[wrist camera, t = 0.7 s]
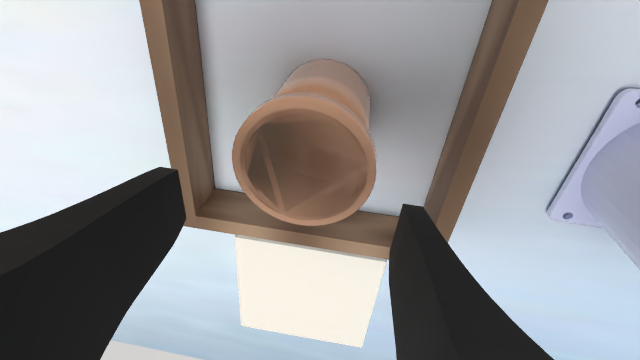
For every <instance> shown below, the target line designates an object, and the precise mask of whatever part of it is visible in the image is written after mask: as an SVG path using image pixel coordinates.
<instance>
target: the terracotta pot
mask: <svg viewBox="0 0 640 360" xmlns="http://www.w3.org/2000/svg"><path fill="white" fill-rule="evenodd" d="M369 127H370V97H369V92H368V89H367V87H366V85H365V83H364V81H363V79H362V78H361V77H360V76H359V74H358V73H357V72H356V71H354V70H353V69H352V68H351V67H349V66H348V65H346V64H344V63H342V62H339V61H335V60H330V59H317V60H313V61H309V62H307V63H305V64H303V65H301V66H299V67H298V68H297V69H295V70H294V71H293V72H292V73H291V75H290V76H289V77H288V79H287V80H286V81H285V83H284V84H283V85H282V87H281V88H280V89H279V91H278V92H277V93H276V95H275V96H274V97H273V98H272V99H270V100H268V101H266V102H264V103H263V104H261V105H260V106H259V107H257V108H256V109H255V110H254V111H253V112H252V113H251V115H250V116H249V117H248V118H247V120H246V121H245V122H244V123H243V125H242V126H241V127H240V129H239V131H238V133H237V135H236V137H235V140H234V144H233V150H232V162H233V168H234V172H235V175H236V178H237V180H238V182H239V184H240V186H241V188H242V189H243V191H244V192H245V194H246V195H247V196H248V197H249V198H250V199H251V200H252V202H253V203H255V204H256V205H257V206H258V207H259V208H260V209H262V210H263V211H265V212H266V213H268V214H270V215H272V216H273V217H275V218H278V219H280V220H282V221H286V222H289V223H293V224H297V225H305V226H318V225H326V224H331V223H334V222H337V221H340V220H342V219H344V218H347V217H348V216H350V215H351V214H353V213H354V212H355V211H357V210H358V209H359V208H360V207H361V206H362V205H363V204H364V203H365V201H366V200H367V198H368V197H369V195H370V193H371V191H372V189H373V186H374V182H375V177H376V152H375V146H374V143H373V140H372V137H371V135H370V133H369Z"/></svg>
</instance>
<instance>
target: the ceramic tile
mask: <svg viewBox="0 0 640 360" xmlns="http://www.w3.org/2000/svg"><path fill="white" fill-rule="evenodd" d="M235 248H236V261H237V275H238V288H239V302H240V315H241V326H246V327H251V328H257V329H262V330H267V331H273V332H278V333H284V334H289V335H295V336H300V337H306V338H311V339H317V340H322V341H328V342H333V343H339V344H344V345H350V346H355V347H361V348H362V346H363V342H364V339H365V335H366V332H367V328H368V325H369V321H370V318H371V314H372V311H373V307H374V304H375V300H376V297H377V294H378V290H379V287H380V283H381V280H382V276H383V273H384V269H385V266H386V262H387V261H386V259H382V258H376V257H370V256H364V255H358V254H351V253H345V252H339V251H333V250H327V249H321V248H315V247H309V246H303V245H297V244H291V243H284V242H278V241H272V240H266V239H260V238H254V237H248V236H242V235H235Z"/></svg>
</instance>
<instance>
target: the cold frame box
mask: <svg viewBox="0 0 640 360" xmlns="http://www.w3.org/2000/svg"><path fill="white" fill-rule="evenodd" d="M139 1H140V6H141V11H142V17H143V22H144V27H145V32H146V38H147V43H148V48H149V53H150V59H151V64H152V69H153V75H154V80H155V85H156V90H157V96H158V101H159V106H160V112H161V117H162V122H163V127H164V133H165V138H166V143H167V149H168V154H169V159H170V164H171V169H177V170H178V173H179V178H180V184H181V189H182V195H183V201H184V206H185V212H186V218H187V219H186V221H185V223H184V225H183V226H187V227H193V228H199V229H205V230H211V231H217V232H224V233H230V234H236V235H242V236H248V237H254V238H260V239H266V240H272V241H278V242H284V243H291V244H297V245H303V246H309V247H315V248H321V249H327V250H333V251H339V252H345V253H351V254H358V255H364V256H370V257H376V258H382V259H388V260H389V251H390V248H391V244H392V241H393V237H394V234H395V230H396V227H397V223H398V220H399V217H395V216H388V215H382V214H376V213H369V212H363V211H355V212H354V213H353V214H351V215H350V216H348V217H347V218H344V219H342V220H340V221H337V222H334V223H331V224H326V225H318V226H305V225H297V224H293V223H289V222H286V221H282V220H280V219H278V218H275V217H273V216H272V215H270V214H268V213H266V212H265V211H263V210H262V209H260V208H259V207H258V206H257V205H256V204H255V203H253V202H252V200H251V199H250V198H249V197H248V196H247V195H246V194H245V193H241V192H234V191H228V190H221V189H215V185H214V176H213V167H212V158H211V148H210V139H209V130H208V120H207V111H206V102H205V93H204V83H203V74H202V65H201V56H200V46H199V37H198V28H197V18H196V9H195V0H139ZM547 3H548V0H493V1H492V4H491V7H490V10H489V13H488V16H487V19H486V22H485V25H484V28H483V31H482V34H481V37H480V40H479V43H478V46H477V49H476V52H475V55H474V58H473V61H472V64H471V67H470V70H469V73H468V76H467V79H466V82H465V85H464V88H463V91H462V94H461V97H460V100H459V103H458V106H457V109H456V112H455V115H454V118H453V121H452V124H451V127H450V130H449V133H448V136H447V139H446V142H445V145H444V148H443V151H442V154H441V157H440V160H439V163H438V166H437V169H436V172H435V175H434V178H433V181H432V184H431V187H430V190H429V193H428V196H427V199H426V202H425V205H424V209H425V210H426V212H427V213H428V215H429V216H430V218H431V219H432V221H433V222H434V224H435V225H436V227H437V228H438V230H439V231H440V233H441V234H442V236H443V237H444V239H445V240H446V242H447V243H448V241H449V238H450V236H451V234H452V231H453V229H454V226H455V224H456V222H457V219H458V217H459V214H460V212H461V210H462V207H463V205H464V202H465V200H466V198H467V195H468V193H469V190H470V188H471V186H472V183H473V181H474V178H475V176H476V174H477V171H478V169H479V166H480V164H481V162H482V159H483V157H484V154H485V152H486V149H487V147H488V145H489V142H490V140H491V137H492V135H493V133H494V130H495V128H496V125H497V123H498V121H499V118H500V116H501V113H502V111H503V109H504V106H505V104H506V101H507V99H508V97H509V94H510V92H511V89H512V87H513V85H514V82H515V80H516V77H517V75H518V73H519V70H520V68H521V65H522V63H523V61H524V58H525V56H526V53H527V51H528V49H529V46H530V44H531V41H532V39H533V37H534V34H535V32H536V29H537V27H538V25H539V22H540V20H541V17H542V15H543V12H544V10H545V8H546V5H547Z"/></svg>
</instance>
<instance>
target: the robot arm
mask: <svg viewBox="0 0 640 360" xmlns="http://www.w3.org/2000/svg"><path fill="white" fill-rule="evenodd" d="M638 99H640V89H634V88H629V89H625V90H623V91H621V92H620V93H618V95H617V96H616V97H615V99H614V100H613V102H612V104H611V105H610V107H609V109H608V110H607V112H606V114H605V115H604V117H603V119H602V120H601V122H600V124H599V125H598V127H597V129H596V130H595V132H594V134H593V135H592V137H591V139H590V140H589V142H588V144H587V145H586V147H585V149H584V150H583V152H582V154H581V155H580V157H579V159H578V160H577V162H576V164H575V165H574V167H573V169H572V170H571V172H570V174H569V175H568V177H567V179H566V180H565V182H564V184H563V185H562V187H561V189H560V190H559V192H558V194H557V195H556V197H555V199H554V200H553V202H552V204H551V205H550V207H549V208H548V211H547V214H548V216H549V217H550V218H551V219H552V220H555V221H561V222H568V223H575V224H581V225H588V226H594V227H601V228H604V229H605V230H606V231H607V232H608V233H609V235H610V236H611V237H612V238H613V239H614V240H615V242H616V243H617V244H618V245H619V246H620V247H621V249H622V250H623V251H624V252H625V253H626V254H627V256H628V257H629V258H630V259H631V260H632V261H633V263H634V264H635V265H636V266H637V267H638V268H639V270H640V103H638V104H636V105H635V103H636V101H637V100H638ZM567 212H569V213H568V214H566V215H564V214H565V213H567ZM186 219H187V218H186V212H185V206H184V201H183V195H182V189H181V184H180V178H179V173H178V170H177V169H170V168H164V167H158V168H156V169H153V170H151V171H148V172H146V173H144V174H141V175H139V176H137V177H135V178H133V179H130V180H128V181H126V182H124V183H122V184H120V185H118V186H115V187H113V188H111V189H109V190H107V191H105V192H102V193H100V194H98V195H96V196H94V197H92V198H89V199H87V200H84V201H82V202H80V203H77V204H75V205H73V206H70V207H68V208H66V209H63V210H61V211H59V212H56V213H54V214H51V215H49V216H46V217H44V218H41V219H38V220H36V221H33V222H30V223H27V224H24V225H22V226H19V227H16V228H13V229H10V230H7V231H4V232H1V233H0V360H100V359H101V357H102V355H103V353H104V351H105V349H106V347H107V345H108V344H109V342H110V340H111V338H112V337H113V335H114V333H115V331H116V330H117V328H118V326H119V324H120V322H121V321H122V319H123V317H124V316H125V314H126V312H127V311H128V309H129V308H130V306H131V305H132V303H133V302H134V300H135V299H136V297H137V296H138V295H139V293H140V292H141V290H142V289H143V288H144V286H145V285H146V283H147V282H148V280H149V279H150V278H151V276H152V275H153V273H154V272H155V271H156V269H157V268H158V266H159V265H160V263H161V262H162V261H163V259H164V258H165V256H166V255H167V253H168V252H169V250H170V249H171V247H172V246H173V244H174V243H175V241H176V239H177V237H178V235H179V233H180V231H181V229H182V227H183V225H184V223H185V221H186ZM389 287H390V297H391V306H392V316H393V325H394V335H395V344H396V356H397V360H554V359H553V358H552V357H550V356H549V355H548V354H547V353H546V352H545V351H544V350H543V349H542V348H541V347H540V346H539V345H537V344H536V343H535V342H534V341H533V340H532V339H531V338H530V337H529V336H528V335H527V334H526V333H525V332H524V331H523V330H522V329H521V328H519V327H518V326H517V325H516V324H515V323H514V322H513V321H512V320H511V319H510V318H509V316H508V315H507V314H506V313H505V312H504V311H503V310H502V309H501V308H500V307H499V306H498V305H497V304H496V303H495V302H494V301H493V300H492V298H491V297H490V296H489V295H488V294H487V293H486V292H485V291H484V289H483V288H482V287H481V286H480V285H479V283H478V282H477V281H476V280H475V279H474V277H473V276H472V275H471V274H470V273H469V271H468V270H467V269H466V268H465V266H464V265H463V264H462V262H461V261H460V260H459V258H458V257H457V255H456V254H455V253H454V251H453V250H452V249H451V247H450V246H449V244H448V243H447V242H446V240H445V239H444V237H443V236H442V234H441V233H440V231H439V230H438V228H437V227H436V225H435V224H434V222H433V221H432V219H431V218H430V216H429V215H428V213H427V212H426V210H425V209H424V207H421V206H414V205H408V204H403V206H402V209H401V213H400V216H399V220H398V223H397V227H396V230H395V234H394V237H393V241H392V244H391V248H390V251H389Z"/></svg>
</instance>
